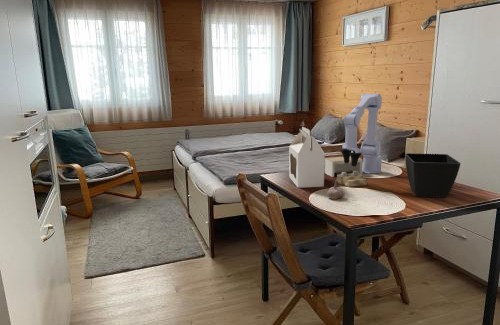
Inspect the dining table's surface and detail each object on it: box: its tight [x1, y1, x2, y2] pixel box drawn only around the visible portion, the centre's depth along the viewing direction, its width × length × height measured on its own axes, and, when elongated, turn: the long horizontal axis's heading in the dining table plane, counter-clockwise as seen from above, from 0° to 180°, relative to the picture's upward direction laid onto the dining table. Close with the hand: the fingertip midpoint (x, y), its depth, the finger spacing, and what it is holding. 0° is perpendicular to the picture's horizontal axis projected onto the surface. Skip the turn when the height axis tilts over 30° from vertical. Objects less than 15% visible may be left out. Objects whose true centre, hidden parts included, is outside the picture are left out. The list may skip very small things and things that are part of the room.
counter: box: [324, 156, 363, 178], centre depth 212 cm, size 18×10×9 cm, turn 104°
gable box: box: [288, 126, 325, 189], centre depth 195 cm, size 22×13×28 cm, turn 5°
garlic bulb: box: [326, 180, 345, 200], centre depth 169 cm, size 8×7×8 cm
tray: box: [336, 171, 368, 188], centre depth 192 cm, size 12×11×5 cm
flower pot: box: [404, 152, 462, 199], centre depth 172 cm, size 19×19×17 cm
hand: (350, 164), depth 194 cm, fingers open, 7 cm apart
